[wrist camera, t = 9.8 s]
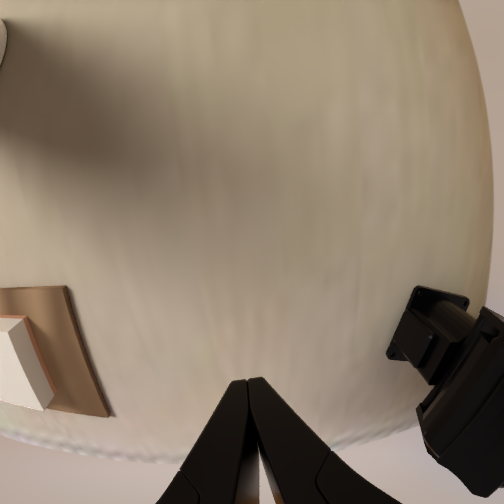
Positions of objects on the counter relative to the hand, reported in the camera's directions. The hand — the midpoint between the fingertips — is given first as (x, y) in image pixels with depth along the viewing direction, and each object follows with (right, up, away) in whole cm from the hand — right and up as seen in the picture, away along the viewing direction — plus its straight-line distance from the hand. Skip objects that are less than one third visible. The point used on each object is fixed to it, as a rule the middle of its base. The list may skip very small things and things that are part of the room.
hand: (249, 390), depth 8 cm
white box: (-18, -6, +12) cm, 23 cm away
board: (-21, -6, +14) cm, 26 cm away
